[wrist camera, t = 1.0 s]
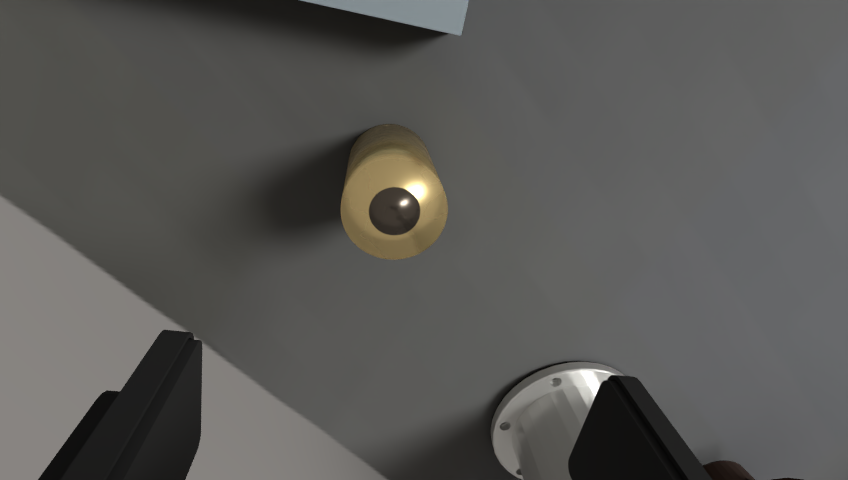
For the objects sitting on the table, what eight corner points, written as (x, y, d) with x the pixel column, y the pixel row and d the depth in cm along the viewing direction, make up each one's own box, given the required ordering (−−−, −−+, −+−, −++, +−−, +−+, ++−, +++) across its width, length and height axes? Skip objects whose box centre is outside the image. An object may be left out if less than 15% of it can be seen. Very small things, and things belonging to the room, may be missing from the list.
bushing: (437, 132, 29) (458, 169, 22) (421, 208, 31) (435, 266, 24) (354, 116, 28) (348, 150, 21) (343, 196, 30) (334, 252, 23)
